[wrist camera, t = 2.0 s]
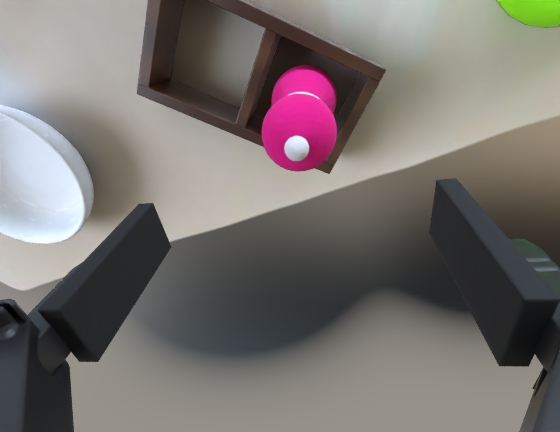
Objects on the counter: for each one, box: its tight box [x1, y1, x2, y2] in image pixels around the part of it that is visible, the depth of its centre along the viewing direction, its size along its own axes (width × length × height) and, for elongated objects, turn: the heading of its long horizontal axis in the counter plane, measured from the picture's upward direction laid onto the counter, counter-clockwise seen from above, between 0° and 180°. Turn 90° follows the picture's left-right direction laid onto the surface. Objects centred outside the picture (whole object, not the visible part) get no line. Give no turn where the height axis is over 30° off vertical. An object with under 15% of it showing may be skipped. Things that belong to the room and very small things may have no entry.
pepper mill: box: [262, 65, 337, 171], centre depth 30 cm, size 7×7×20 cm
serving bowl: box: [0, 105, 94, 244], centre depth 44 cm, size 21×21×7 cm
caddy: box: [137, 0, 386, 174], centre depth 35 cm, size 12×24×6 cm, turn 68°
